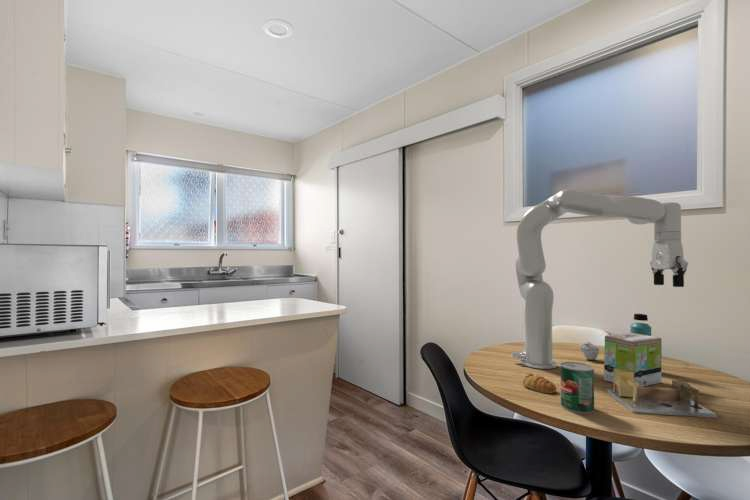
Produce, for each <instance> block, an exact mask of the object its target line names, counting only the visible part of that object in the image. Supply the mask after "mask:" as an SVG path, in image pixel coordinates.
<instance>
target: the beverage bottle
mask: <svg viewBox="0 0 750 500" xmlns="http://www.w3.org/2000/svg"><path fill="white" fill-rule="evenodd" d="M648 318H649V317H648V315H647V314H646V313H644V314H643V313H634V314H633V320H634V321H644V322H645V321H646V322H647V321H648V320H649V319H648ZM644 322H633V323H632V324H630V333H636V334H642V335H647V336H652V326H650V324H648V323H644Z"/></svg>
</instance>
